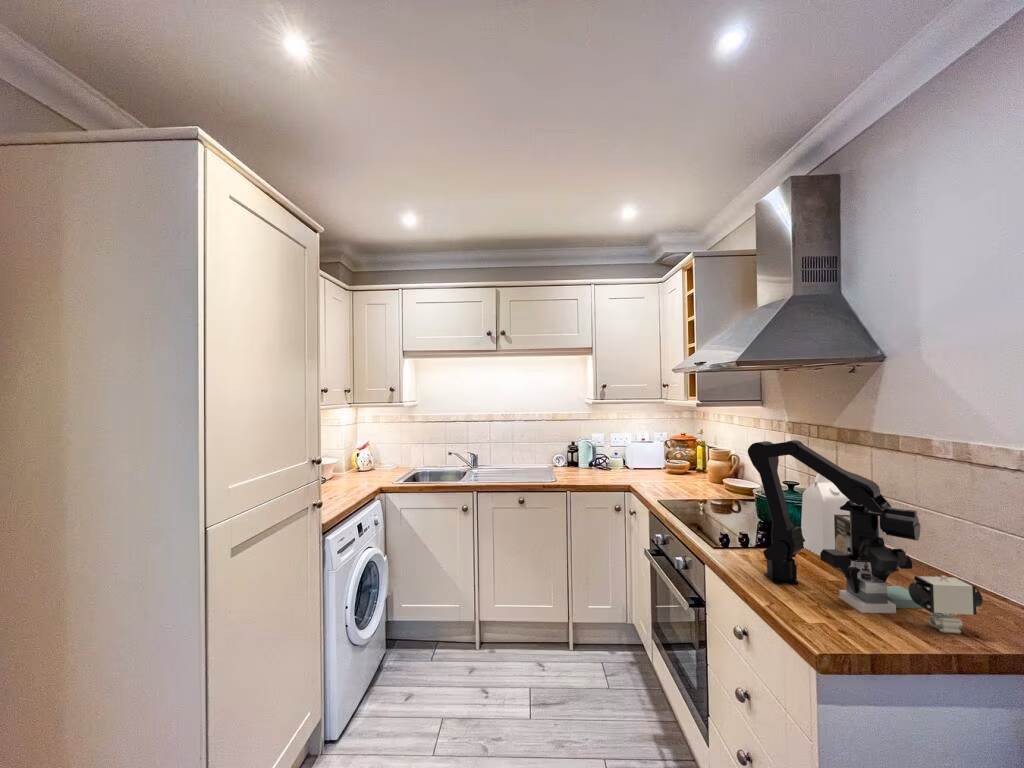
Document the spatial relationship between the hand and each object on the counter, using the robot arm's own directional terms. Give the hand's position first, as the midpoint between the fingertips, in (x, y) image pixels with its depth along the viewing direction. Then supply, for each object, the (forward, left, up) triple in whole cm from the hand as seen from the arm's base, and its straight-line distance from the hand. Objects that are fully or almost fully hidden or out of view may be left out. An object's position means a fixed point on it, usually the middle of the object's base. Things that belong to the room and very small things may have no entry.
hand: (866, 593), depth 112 cm
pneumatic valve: (+9, -11, -3) cm, 15 cm away
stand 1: (0, 0, -3) cm, 3 cm away
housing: (0, 0, -1) cm, 1 cm away
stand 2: (+10, +3, -3) cm, 10 cm away
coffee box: (+11, +21, -3) cm, 24 cm away
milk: (+15, +39, -3) cm, 42 cm away
